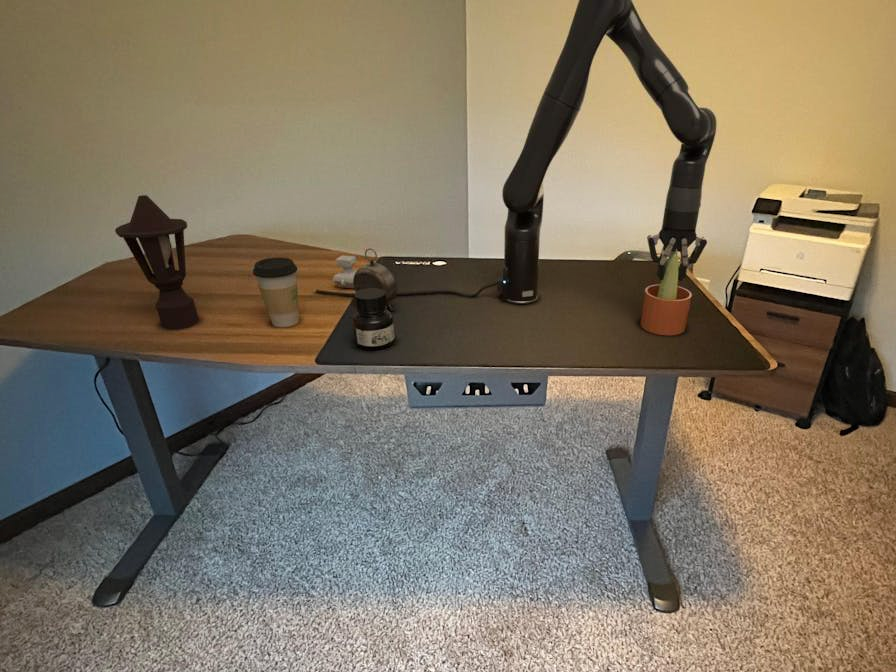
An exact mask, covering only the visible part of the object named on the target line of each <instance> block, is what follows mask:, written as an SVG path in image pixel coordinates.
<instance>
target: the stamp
mask: <svg viewBox="0 0 896 672" xmlns="http://www.w3.org/2000/svg"><path fill="white" fill-rule="evenodd" d="M335 262H336V265H337V266H338V267H339V268H342V270H341V271H339V272H338V273H336V274H335V275H334V276H333V277H332V281H333V282H334V283H335V284H336V285H337V286H338V287H339V288H346V289H354V285H353V278H354V275H355V273H356V271H357V270H355V269H354V268H353V266H355V265H356V264H357V258H356V256H353V255H343V254H342V255H340V256H339V257H337V258H336V259H335Z"/></svg>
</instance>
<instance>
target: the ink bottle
mask: <svg viewBox="0 0 896 672" xmlns="http://www.w3.org/2000/svg"><path fill="white" fill-rule="evenodd" d="M354 293H355V294H354V296H353V299H354V306H355V310H356V312H355V313H354V314H353V316H352V326H353V334H354V341H355V345H356V346H357V347H359V348H360V349H362V350H367V351H373V350H374V351H375V350H382V349H386V348H388V347H390V346H392V345H393V344H394V343H395V328H394V317H393V314H392V312H391V311H390V310H388V306H387V302H386V292H385V291H384V290H381V289H376V288H367V289H362V290H359V291H357V292H354Z"/></svg>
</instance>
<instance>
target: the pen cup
mask: <svg viewBox="0 0 896 672" xmlns="http://www.w3.org/2000/svg"><path fill="white" fill-rule="evenodd" d="M659 287H660V283H658V284H652V285H649V286H647V287H645V289H644V294H643V295H644V296H643V299H642V300H643V302H642V308H641V315H640V323H639V324H640V327H641V328H642V329H643V330H645V331H646V332H649V333H650V334H655V335H659V336H677V335H680V334H682V333H684V332H685V331H686V328H687V323H688V319H689V312H690V307H691V302H692V296H693V294H692V292H691V291H690V290H689V289H687V288H685V287H682V286H679V285H678V286H677V295H676V300H666V299H661V298H657V296H658V291H659Z"/></svg>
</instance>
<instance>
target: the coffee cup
mask: <svg viewBox="0 0 896 672" xmlns="http://www.w3.org/2000/svg"><path fill="white" fill-rule="evenodd" d="M297 272H298V267H297V265H296V264H295V262H294V260H293V259H292V258H288V257H277V256H276V257H268V258H264V259H260V260H258V261H256V262H255V263H254V267H253V269H252V275H253V276H254V277H255V278H256V281H257V287H258V290H259V292H260V294H261V295H260V296H261V298H262V300H263V303H264V305H265V309H266V311H267V313H268V315H269V319H270V321H271V324H272V325H273V326H274V327H276V328H289V327H291V326H292V327H293V326H295V325H297V324H298V323H299V322H300V318H299V291H298V279H297Z"/></svg>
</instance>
